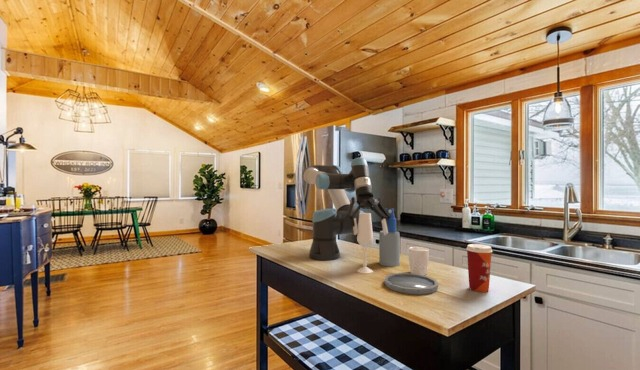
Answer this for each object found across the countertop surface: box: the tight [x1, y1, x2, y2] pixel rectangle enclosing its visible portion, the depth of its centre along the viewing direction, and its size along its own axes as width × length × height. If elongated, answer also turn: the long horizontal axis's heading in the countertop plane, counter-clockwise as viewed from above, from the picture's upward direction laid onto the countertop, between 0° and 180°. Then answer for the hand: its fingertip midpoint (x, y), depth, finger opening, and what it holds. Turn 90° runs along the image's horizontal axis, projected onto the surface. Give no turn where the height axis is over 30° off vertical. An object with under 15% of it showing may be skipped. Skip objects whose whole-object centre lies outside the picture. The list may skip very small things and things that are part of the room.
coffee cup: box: [466, 243, 494, 293], centre depth 110 cm, size 8×8×15 cm
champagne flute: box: [356, 212, 374, 274], centre depth 131 cm, size 7×7×24 cm
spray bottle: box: [378, 208, 401, 268], centre depth 143 cm, size 9×9×25 cm
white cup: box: [408, 246, 430, 276], centre depth 129 cm, size 8×8×10 cm
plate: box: [384, 272, 439, 296], centre depth 113 cm, size 18×18×2 cm
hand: (371, 234), depth 132 cm, fingers open, 13 cm apart
